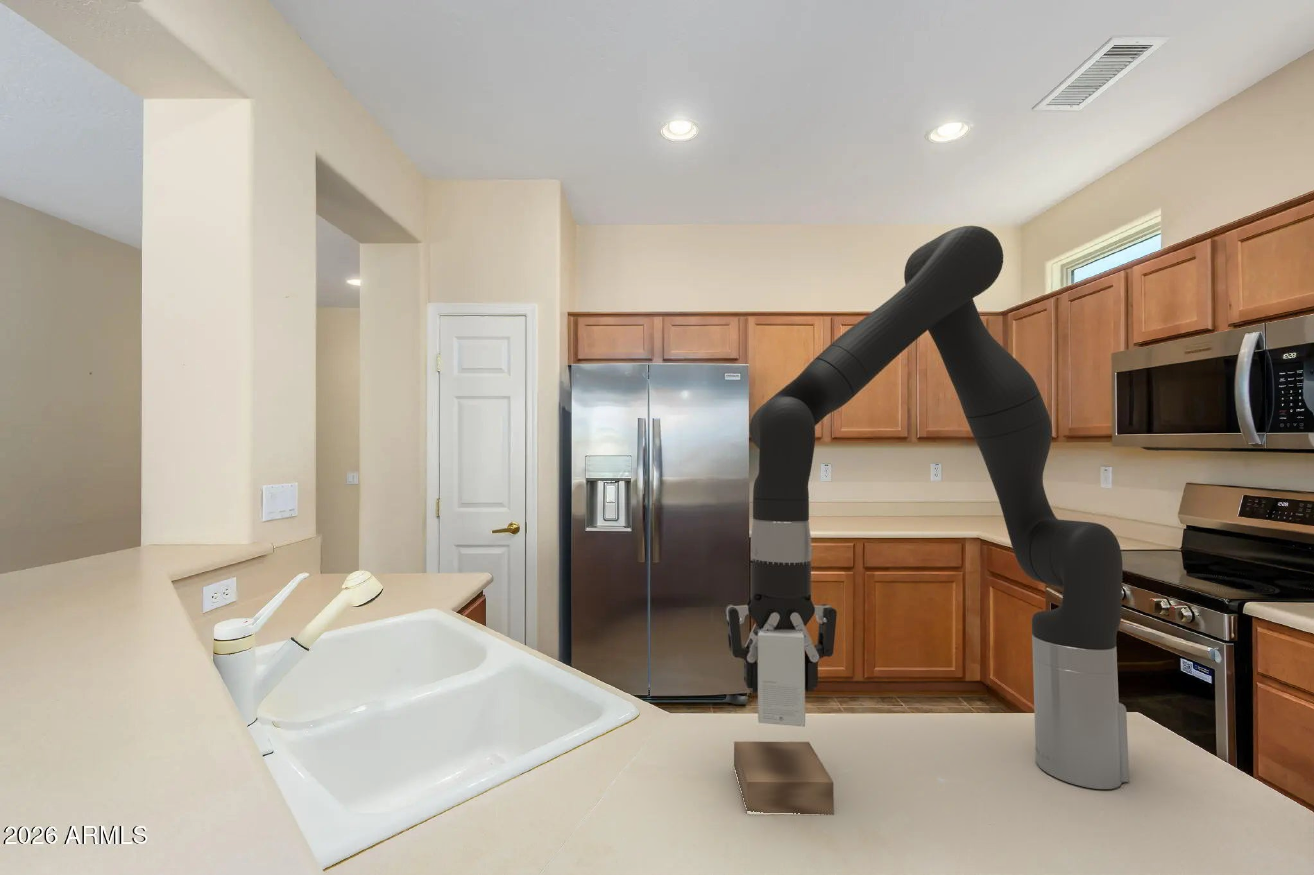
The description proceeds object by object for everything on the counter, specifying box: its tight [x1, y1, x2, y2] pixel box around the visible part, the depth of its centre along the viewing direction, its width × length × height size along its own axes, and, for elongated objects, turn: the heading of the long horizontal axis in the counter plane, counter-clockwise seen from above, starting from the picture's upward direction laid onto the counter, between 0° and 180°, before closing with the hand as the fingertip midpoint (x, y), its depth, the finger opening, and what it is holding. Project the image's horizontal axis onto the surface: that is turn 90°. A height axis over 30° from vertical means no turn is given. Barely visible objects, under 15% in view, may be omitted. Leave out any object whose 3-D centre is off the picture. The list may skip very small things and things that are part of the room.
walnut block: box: [733, 740, 835, 816], centre depth 71 cm, size 10×10×4 cm
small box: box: [757, 629, 806, 728], centre depth 72 cm, size 8×6×10 cm
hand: (780, 690), depth 71 cm, fingers closed on small box, 6 cm apart
